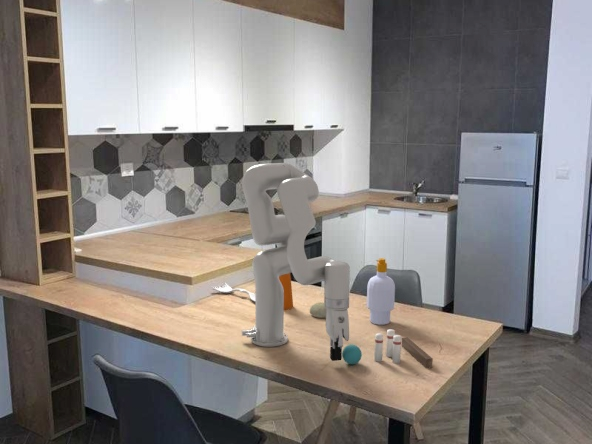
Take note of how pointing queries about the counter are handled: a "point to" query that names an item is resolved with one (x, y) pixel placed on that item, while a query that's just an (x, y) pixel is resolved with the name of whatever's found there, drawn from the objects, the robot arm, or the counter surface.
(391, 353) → the pin
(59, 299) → the counter surface
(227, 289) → the white fork
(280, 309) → the robot arm
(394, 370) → the counter surface
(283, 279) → the spray bottle
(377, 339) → the front pin
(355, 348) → the ball
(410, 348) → the back wall
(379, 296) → the soap bottle
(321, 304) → the sea urchin shell
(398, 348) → the pin
